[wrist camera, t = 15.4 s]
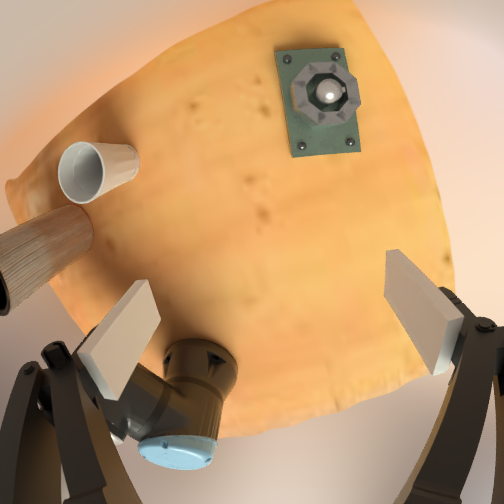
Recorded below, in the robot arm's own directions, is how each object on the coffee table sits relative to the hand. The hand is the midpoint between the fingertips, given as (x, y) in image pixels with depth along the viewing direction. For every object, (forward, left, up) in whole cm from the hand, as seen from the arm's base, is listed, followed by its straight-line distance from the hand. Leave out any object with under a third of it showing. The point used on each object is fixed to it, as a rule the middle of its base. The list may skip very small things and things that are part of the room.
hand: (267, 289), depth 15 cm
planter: (-36, 0, -29) cm, 46 cm away
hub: (+9, +13, -27) cm, 31 cm away
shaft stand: (+9, +13, -29) cm, 33 cm away
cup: (-22, +9, -29) cm, 37 cm away
